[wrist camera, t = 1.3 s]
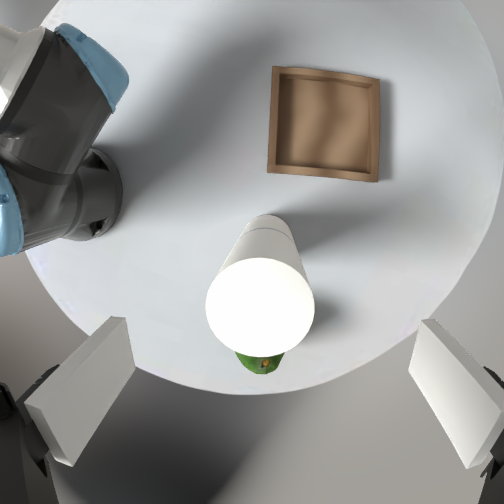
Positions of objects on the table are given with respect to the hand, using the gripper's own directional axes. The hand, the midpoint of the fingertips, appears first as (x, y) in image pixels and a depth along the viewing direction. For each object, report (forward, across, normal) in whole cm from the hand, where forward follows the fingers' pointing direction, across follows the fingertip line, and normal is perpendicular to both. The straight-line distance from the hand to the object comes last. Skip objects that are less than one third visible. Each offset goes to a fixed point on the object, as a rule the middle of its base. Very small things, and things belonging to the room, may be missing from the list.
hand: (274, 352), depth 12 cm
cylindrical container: (+32, -1, -2) cm, 32 cm away
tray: (+32, +7, +15) cm, 36 cm away
